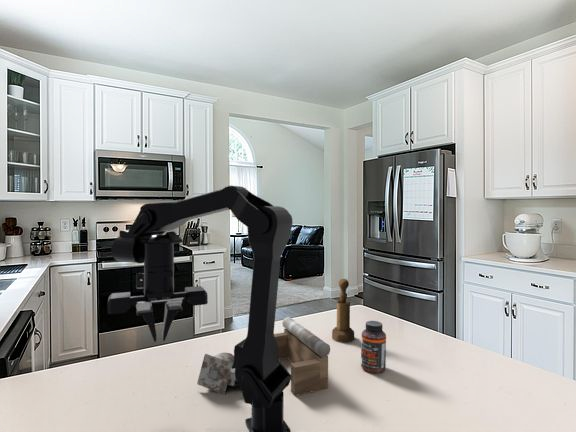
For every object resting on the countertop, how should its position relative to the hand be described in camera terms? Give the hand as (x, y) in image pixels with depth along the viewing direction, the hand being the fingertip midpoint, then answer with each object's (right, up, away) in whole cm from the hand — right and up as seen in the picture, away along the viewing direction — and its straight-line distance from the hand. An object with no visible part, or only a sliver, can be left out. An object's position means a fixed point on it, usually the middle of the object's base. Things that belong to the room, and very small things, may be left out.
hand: (159, 340), depth 73 cm
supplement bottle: (+47, -12, +14) cm, 51 cm away
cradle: (+28, -12, +12) cm, 33 cm away
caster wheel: (+14, -12, +7) cm, 20 cm away
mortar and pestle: (+43, -12, +34) cm, 56 cm away
